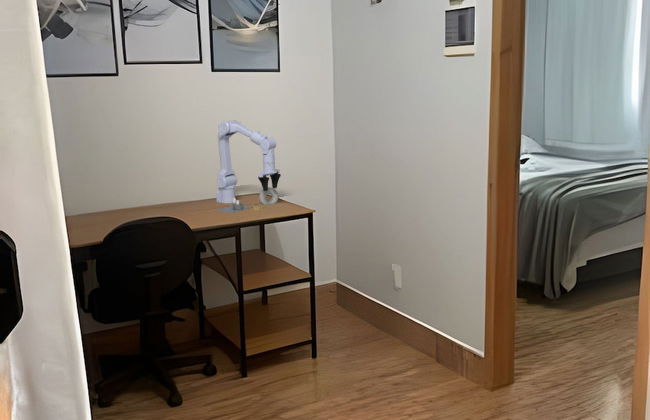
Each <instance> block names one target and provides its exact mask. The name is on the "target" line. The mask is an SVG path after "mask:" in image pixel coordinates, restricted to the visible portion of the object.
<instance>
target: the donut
mask: <svg viewBox="0 0 650 420" xmlns="http://www.w3.org/2000/svg"><path fill="white" fill-rule="evenodd" d="M267 195H270V196H271V198H270V199H267ZM258 199H259V201H260V204H262V206H264V205H265V206H266V205H275V204H277V202H278V201H279V194H278V191H277V190H276V188H273V187H269V186H268V191H263V189H261V191H260V193H259V196H258Z"/></svg>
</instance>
